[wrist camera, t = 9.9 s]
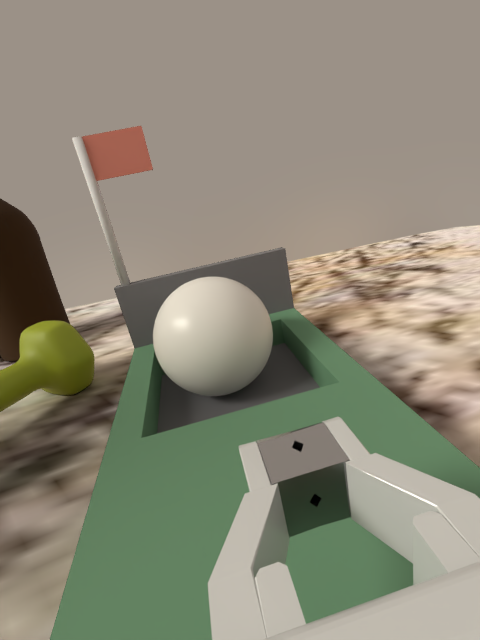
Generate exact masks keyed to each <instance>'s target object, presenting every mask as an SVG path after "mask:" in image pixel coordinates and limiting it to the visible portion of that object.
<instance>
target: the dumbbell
mask: <svg viewBox="0 0 480 640" xmlns="http://www.w3.org/2000/svg"><path fill="white" fill-rule="evenodd" d="M93 376H94V354H93V351H92V349H91V348H90V346H89V345H88V344H87V343H86V341H85V340H84V339H83V338H82V336H81V335H80V334H79V333H78V332H77V331H76V329H75V328H74V327H73V326H71V325H70V324H69V323H67V322H64V321H42V322H39V323H36V324H34V325H32V326H30V327H28V328H26V329H25V330H24V331H23V332H22V333H21V336H20V358H19V360H18V361H17V362H16V363H15V364H13V365H11V366H9V367H7V368H5V369H3V370H0V412H1V411H3V410H4V409H6V408H8V407H9V406H11V405H13V404H14V403H16V402H18V401H19V400H21V399H23V398H24V397H26V396H27V395H29V394H30V393H32V392H33V391H35V390H37V389H40V388H41V389H43V390H44V391H46V392H49V393H52V394H58V395H73V394H76V393H78V392H80V391H82V390H83V389H85V388H86V387H87V386H89V385H90V384H91V382H92V380H93Z"/></svg>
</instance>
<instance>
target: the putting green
mask: <svg viewBox="0 0 480 640" xmlns="http://www.w3.org/2000/svg"><path fill="white" fill-rule="evenodd" d="M72 140H73V143H74V146H75V149H76V152H77V155H78V158H79V161H80V164H81V167H82V170H83V173H84V175H85V179H86V182H87V185H88V188H89V190H90V193H91V196H92V199H93V202H94V205H95V208H96V211H97V214H98V217H99V220H100V223H101V226H102V229H103V232H104V235H105V238H106V241H107V244H108V247H109V250H110V253H111V256H112V259H113V262H114V265H115V268H116V270H117V274H118V277H119V280H120V283H121V285H119V286H116V287H115V288H114V290H115V293H116V295H117V299H118V301H119V304H120V307H121V310H122V313H123V316H124V319H125V322H126V325H127V327H128V330H129V333H130V336H131V339H132V342H133V345H134V348H135V349H134V353H133V356H132V360H131V363H130V366H129V370H128V373H127V377H126V380H125V384H124V387H123V390H122V394H121V397H120V401H119V404H118V408H117V411H116V414H115V418H114V421H113V425H112V428H111V432H110V435H109V438H108V442H107V445H106V449H105V452H104V456H103V459H102V462H101V466H100V469H99V473H98V476H97V480H96V483H95V486H94V490H93V493H92V497H91V500H90V504H89V507H88V510H87V514H86V517H85V521H84V524H83V528H82V531H81V534H80V538H79V541H78V545H77V548H76V552H75V555H74V558H73V562H72V565H71V569H70V572H69V576H68V579H67V582H66V586H65V589H64V593H63V596H62V600H61V603H60V606H59V610H58V613H57V617H56V620H55V623H54V627H53V630H52V634H51V637H50V640H212V632H211V619H210V607H209V594H208V581H209V579H210V577H211V574H212V572H213V569H214V567H215V564H216V562H217V560H218V557H219V555H220V552H221V550H222V548H223V545H224V543H225V540H226V538H227V535H228V533H229V531H230V528H231V526H232V523H233V521H234V518H235V516H236V514H237V511H238V509H239V506H240V504H241V502H242V499H243V497H244V494H245V493H248V492H249V488H248V484H247V480H246V476H245V472H244V468H243V464H242V460H241V456H240V452H239V446H240V445H243V444H247V443H251V442H254V441H255V442H256V441H257V440H261V439H264V438H268V437H272V436H276V435H279V434H283V433H287V432H290V431H294V430H297V429H300V428H304V427H307V426H310V425H314V424H317V423H320V422H322V421H325V420H328V419H332V418H335V417H340V418H342V420H343V421H344V422H345V423H346V425H347V426H348V427H349V428H350V430H351V431H352V432H353V433H354V434H355V436H356V437H357V438H358V439H359V441H360V442H361V443H362V444H363V446H364V447H365V448H366V449H367V451H368V452H369V453H370V454H374V453H377V454H380V455H382V456H384V457H387V458H389V459H392V460H394V461H396V462H399V463H401V464H404V465H406V466H408V467H411V468H413V469H416V470H418V471H420V472H423V473H425V474H428V475H430V476H432V477H435V478H437V479H440V480H442V481H444V482H447V483H449V484H452V485H454V486H456V487H459V488H461V489H464V490H466V491H468V492H471V493H473V494H475V495H476V496H477V497H479V498H480V468H479V467H478V466H477V465H476V464H474V463H473V462H472V461H471V460H470V459H469V458H467V457H466V456H465V455H464V454H463V453H462V452H461V451H459V450H458V449H457V448H456V447H455V446H454V445H452V444H451V443H450V442H449V441H448V440H447V439H445V438H444V437H443V436H442V435H441V434H440V433H438V432H437V431H436V430H435V429H434V428H433V427H432V426H430V425H429V424H428V423H427V422H426V421H425V420H423V419H422V418H421V417H420V416H419V415H418V414H416V413H415V412H414V411H413V410H412V409H411V408H409V407H408V406H407V405H406V404H405V403H404V402H402V401H401V400H400V399H399V398H398V397H397V396H396V395H394V394H393V393H392V392H391V391H390V390H389V389H387V388H386V387H385V386H384V385H383V384H382V383H380V382H379V381H378V380H377V379H376V378H375V377H373V376H372V375H371V374H370V373H369V372H368V371H366V370H365V369H364V368H363V367H362V366H361V365H360V364H358V363H357V362H356V361H355V360H354V359H353V358H351V357H350V356H349V355H348V354H347V353H346V352H344V351H343V350H342V349H341V348H340V347H339V346H337V345H336V344H335V343H334V342H333V341H332V340H331V339H329V338H328V337H327V336H326V335H325V334H324V333H322V332H321V331H320V330H319V329H318V328H317V327H315V326H314V325H313V324H312V323H311V322H310V321H308V320H307V319H306V318H305V317H304V316H303V315H301V314H300V313H299V312H298V311H297V310H296V309H295V308H294V305H293V298H292V292H291V285H290V278H289V271H288V265H287V258H286V251H285V248H282V247H281V248H277V249H273V250H269V251H264V252H260V253H256V254H252V255H247V256H243V257H239V258H234V259H230V260H226V261H221V262H217V263H213V264H209V265H204V266H200V267H196V268H192V269H187V270H183V271H179V272H174V273H170V274H166V275H162V276H158V277H153V278H149V279H144V280H140V281H137V282H132V283H130V280H129V278H128V275H127V271H126V268H125V265H124V262H123V259H122V256H121V253H120V250H119V247H118V244H117V241H116V238H115V234H114V231H113V228H112V225H111V222H110V219H109V216H108V213H107V210H106V207H105V204H104V201H103V198H102V195H101V192H100V189H99V185H98V182H97V181H98V180H104V179H109V178H113V177H119V176H124V175H129V174H134V173H139V172H144V171H148V170H153V168H152V164H151V160H150V157H149V153H148V149H147V145H146V142H145V138H144V134H143V131H142V127H141V126H137V127H131V128H126V129H121V130H115V131H110V132H104V133H99V134H94V135H89V136H83V137H74V138H72ZM203 277H224V278H228V279H232V280H235V281H237V282H239V283H241V284H243V285H245V286H246V287H248V288H249V289H250V290H252V291H253V292H254V293H255V294H256V295H257V296H258V297H259V299H260V300H261V301H262V303H263V304H264V306H265V308H266V309H267V311H268V314H269V317H270V320H271V324H272V330H273V343H272V349H271V353H270V356H269V359H268V361H267V363H266V365H265V367H264V368H263V370H262V371H261V373H260V374H259V375H258V376H257V377H256V378H255V379H254V380H253V381H252V382H251V383H250V384H249V385H247V386H245V387H244V388H242V389H241V390H239V391H236V392H234V393H231V394H227V395H222V396H203V395H199V394H195V393H192V392H190V391H187V390H185V389H183V388H182V387H180V386H178V385H177V384H176V383H175V382H173V381H172V380H171V379H170V378H169V377H168V376H167V375H166V373H165V372H164V370H163V369H162V367H161V366H160V364H159V362H158V359H157V357H156V354H155V350H154V345H153V329H154V324H155V320H156V317H157V314H158V312H159V310H160V308H161V306H162V304H163V303H164V301H165V300H166V299H167V298H168V296H169V295H170V294H171V293H172V292H173V291H175V290H176V289H177V288H179V287H180V286H181V285H183V284H185V283H187V282H189V281H192V280H195V279H198V278H203ZM289 539H290V540H289V546H288V551H287V557H286V562H285V565H287V567H288V570H289V573H290V576H291V579H292V582H293V585H294V588H295V591H296V594H297V597H298V600H299V604H300V607H301V610H302V613H303V616H304V619H305V622H306V624H307V623H310V622H313V621H315V620H318V619H321V618H324V617H327V616H329V615H332V614H335V613H338V612H340V611H343V610H346V609H349V608H351V607H354V606H357V605H360V604H363V603H365V602H368V601H371V600H374V599H376V598H379V597H382V596H385V595H387V594H390V593H393V592H396V591H398V590H401V589H404V588H407V587H409V586H412V585H413V563H411V562H410V561H409V560H407V559H406V558H405V557H403V556H402V555H400V554H399V553H398V552H396V551H395V550H394V549H392V548H391V547H389V546H388V545H387V544H385V543H384V542H383V541H381V540H380V539H378V538H377V537H376V536H374V535H373V534H372V533H370V532H369V531H367V530H366V529H365V528H363V527H362V526H361V525H359V524H358V523H356V522H355V521H354V520H352V519H351V517H350V518H346V519H343V520H340V521H336V522H333V523H329V524H326V525H323V526H319V527H317V528H314V529H311V530H308V531H306V532H303V533H300V534H297V535H295V536H292V537H289Z"/></svg>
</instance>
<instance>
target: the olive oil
mask: <svg viewBox="0 0 480 640" xmlns="http://www.w3.org/2000/svg"><path fill="white" fill-rule="evenodd" d="M42 321H64V322H67V323H69V324H70V322H69V320H68V317H67V314H66V312H65V309H64V306H63V304H62V301H61V299H60V295H59V293H58V290H57V287H56V284H55V281H54V278H53V276H52V273H51V270H50V267H49V264H48V261H47V259H46V255H45V252H44V249H43V247H42V244H41V241H40V237H39V234H38V232H37V230H36V228H35V227H34V225H33V224H32V222H31V221H30V220H29V219H28V217H27V216H26V215H25V214H24V213H23V212H21V211H20V210H18V209H17V208H15V207H14V206H12V205H10V204H8V203H7V202H5V201H3V200H2V199H0V356H1V357H2V359H3V360H5V361H18V360H19V358H20V336H21V333H22V332H23V331H24V330H25V329H26V328H28V327H30V326H32V325H34V324H36V323H39V322H42Z"/></svg>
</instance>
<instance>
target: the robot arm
mask: <svg viewBox="0 0 480 640" xmlns="http://www.w3.org/2000/svg"><path fill="white" fill-rule="evenodd" d="M239 452H240V456H241V460H242V464H243V468H244V472H245V476H246V480H247V484H248V488H249V492H248V493H245V494H244V497H243V499H242V502H241V504H240V506H239V509H238V511H237V514H236V516H235V518H234V521H233V523H232V526H231V528H230V531H229V533H228V535H227V538H226V540H225V543H224V545H223V548H222V550H221V552H220V555H219V557H218V560H217V562H216V564H215V567H214V569H213V572H212V574H211V577H210V579H209V581H208V594H209V607H210V619H211V632H212V640H480V498H479V497H477V496H476V495H475V494H473V493H471V492H468V491H466V490H464V489H461V488H459V487H456V486H454V485H452V484H449V483H447V482H444V481H442V480H440V479H437V478H435V477H432V476H430V475H428V474H425V473H423V472H420V471H418V470H416V469H413V468H411V467H408V466H406V465H404V464H401V463H399V462H396V461H394V460H392V459H389V458H387V457H384V456H382V455H380V454H377V453H374V454H370V453H369V452H368V451H367V449H366V448H365V447H364V446H363V444H362V443H361V442H360V441H359V439H358V438H357V437H356V436H355V434H354V433H353V432H352V431H351V430H350V428H349V427H348V426H347V425H346V423H345V422H344V421H343V420H342V418H340V417H335V418H332V419H328V420H325V421H322V422H320V423H317V424H314V425H310V426H307V427H304V428H300V429H297V430H294V431H290V432H287V433H283V434H279V435H276V436H272V437H268V438H264V439H261V440H257V441H256V442H255V441H254V442H251V443H247V444H243V445H240V446H239ZM350 517H351V519H352V520H354V521H355V522H356V523H358V524H359V525H361V526H362V527H363V528H365V529H366V530H367V531H369V532H370V533H372V534H373V535H374V536H376V537H377V538H378V539H380V540H381V541H383V542H384V543H385V544H387V545H388V546H389V547H391V548H392V549H394V550H395V551H396V552H398V553H399V554H400V555H402V556H403V557H405V558H406V559H407V560H409V561H410V562H411V563H413V585H412V586H409V587H407V588H404V589H401V590H398V591H396V592H393V593H390V594H387V595H385V596H382V597H379V598H376V599H374V600H371V601H368V602H365V603H363V604H360V605H357V606H354V607H351V608H349V609H346V610H343V611H340V612H338V613H335V614H332V615H329V616H327V617H324V618H321V619H318V620H315V621H313V622H310V623H307V624H306V622H305V619H304V616H303V613H302V610H301V607H300V604H299V600H298V597H297V594H296V591H295V588H294V585H293V582H292V579H291V576H290V573H289V570H288V567H287V565H285V562H286V557H287V551H288V546H289V540H290V539H289V537H292V536H295V535H297V534H300V533H303V532H306V531H308V530H311V529H314V528H317V527H319V526H323V525H326V524H329V523H333V522H336V521H340V520H343V519H346V518H350Z"/></svg>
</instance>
